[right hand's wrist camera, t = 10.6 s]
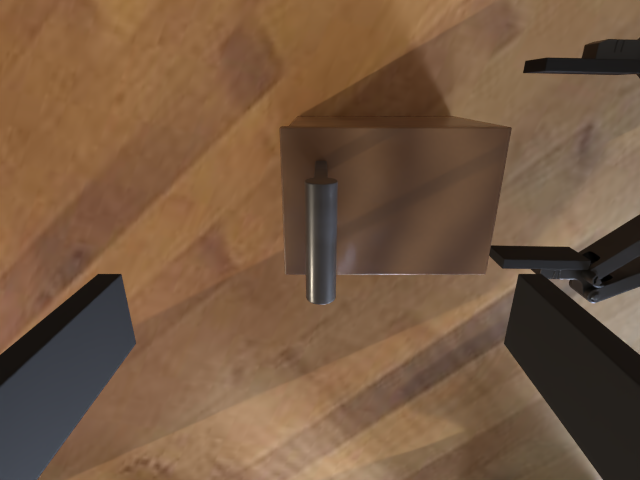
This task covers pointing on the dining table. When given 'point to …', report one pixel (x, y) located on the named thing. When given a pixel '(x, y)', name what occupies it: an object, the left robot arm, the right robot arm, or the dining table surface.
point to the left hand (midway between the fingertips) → (512, 169)
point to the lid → (388, 200)
